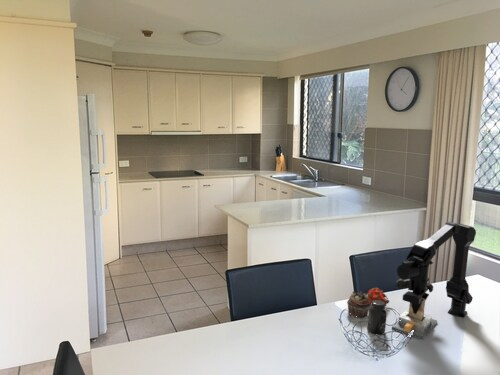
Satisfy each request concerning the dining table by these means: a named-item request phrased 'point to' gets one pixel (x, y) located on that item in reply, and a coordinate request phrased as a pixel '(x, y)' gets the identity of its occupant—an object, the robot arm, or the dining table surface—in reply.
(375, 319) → the supplement bottle
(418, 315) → the oak wedge
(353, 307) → the cupcake
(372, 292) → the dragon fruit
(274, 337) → the dining table surface
